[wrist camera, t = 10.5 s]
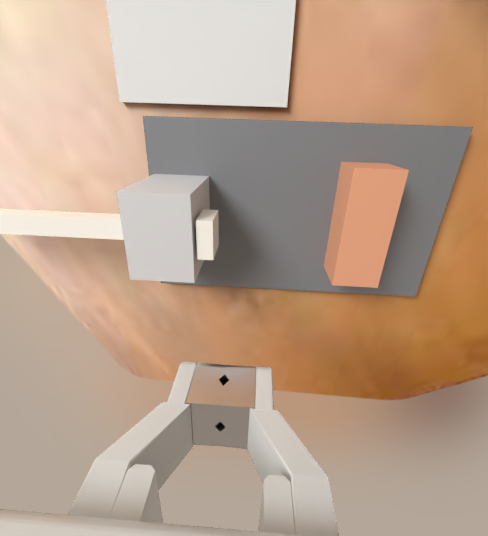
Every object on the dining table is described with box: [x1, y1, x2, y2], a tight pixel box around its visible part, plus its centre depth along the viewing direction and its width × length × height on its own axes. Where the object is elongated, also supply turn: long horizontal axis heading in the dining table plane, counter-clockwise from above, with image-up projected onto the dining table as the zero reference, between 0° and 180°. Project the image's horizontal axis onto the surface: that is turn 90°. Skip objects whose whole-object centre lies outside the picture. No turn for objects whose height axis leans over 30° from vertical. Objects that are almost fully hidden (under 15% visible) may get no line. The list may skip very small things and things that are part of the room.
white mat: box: [106, 0, 296, 108], centre depth 22 cm, size 13×14×1 cm
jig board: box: [116, 116, 473, 297], centre depth 25 cm, size 16×27×9 cm, turn 88°
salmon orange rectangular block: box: [324, 162, 409, 288], centre depth 26 cm, size 10×4×4 cm, turn 178°
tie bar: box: [0, 209, 219, 260], centre depth 23 cm, size 3×24×3 cm, turn 88°
